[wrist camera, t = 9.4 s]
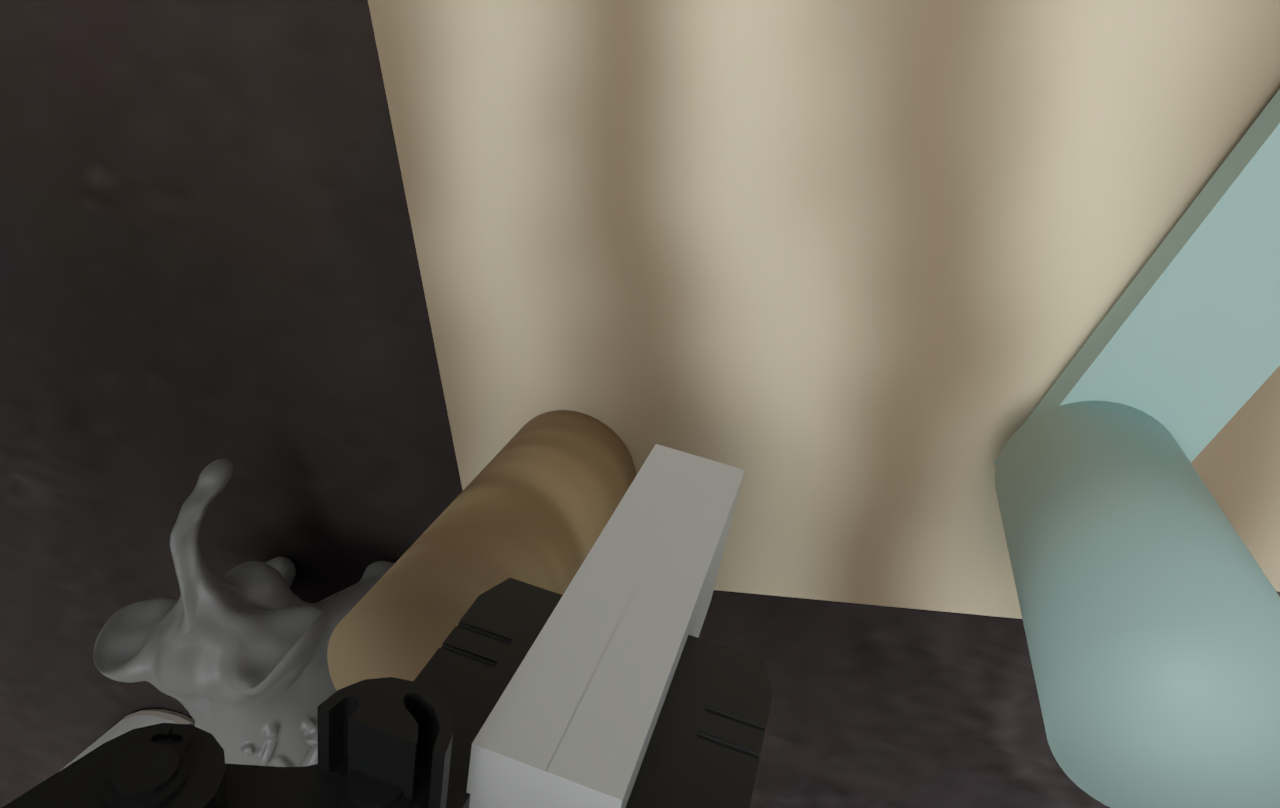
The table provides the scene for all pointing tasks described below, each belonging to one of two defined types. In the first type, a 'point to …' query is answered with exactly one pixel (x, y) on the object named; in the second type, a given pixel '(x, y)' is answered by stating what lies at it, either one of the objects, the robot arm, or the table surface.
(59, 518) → the table surface
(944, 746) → the table surface
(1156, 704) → the hinged leg
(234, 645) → the gray elephant figurine
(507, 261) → the stool
